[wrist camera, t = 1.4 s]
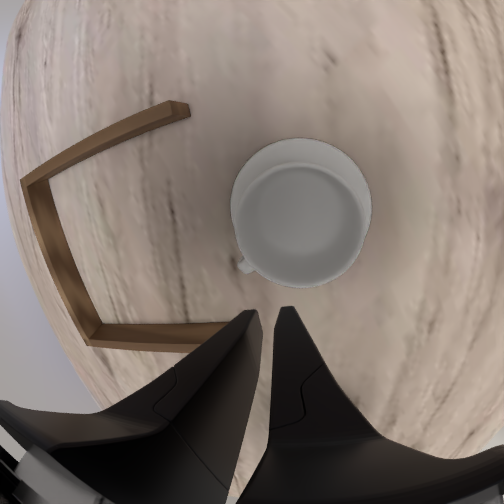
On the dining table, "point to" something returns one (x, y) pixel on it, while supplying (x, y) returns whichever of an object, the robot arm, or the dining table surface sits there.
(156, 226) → the dining table surface
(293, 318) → the robot arm
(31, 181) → the corral
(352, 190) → the teacup
